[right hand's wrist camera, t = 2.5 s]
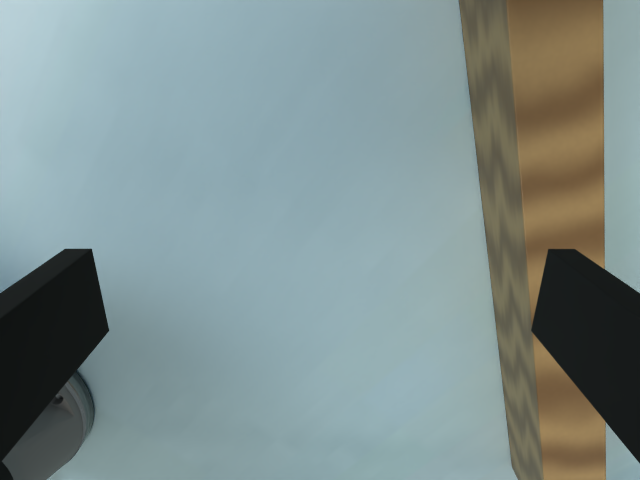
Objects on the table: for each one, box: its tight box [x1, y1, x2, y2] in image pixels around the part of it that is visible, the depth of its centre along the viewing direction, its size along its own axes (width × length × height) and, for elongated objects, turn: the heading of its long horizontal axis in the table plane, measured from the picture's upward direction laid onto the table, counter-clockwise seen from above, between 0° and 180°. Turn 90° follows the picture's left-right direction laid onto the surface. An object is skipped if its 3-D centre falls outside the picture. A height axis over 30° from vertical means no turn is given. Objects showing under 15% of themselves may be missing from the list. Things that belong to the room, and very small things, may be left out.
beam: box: [459, 0, 606, 480], centre depth 31 cm, size 54×5×8 cm, turn 14°
